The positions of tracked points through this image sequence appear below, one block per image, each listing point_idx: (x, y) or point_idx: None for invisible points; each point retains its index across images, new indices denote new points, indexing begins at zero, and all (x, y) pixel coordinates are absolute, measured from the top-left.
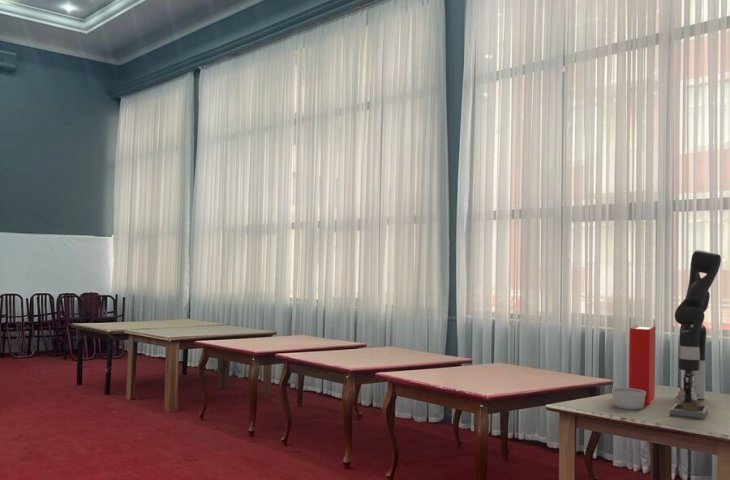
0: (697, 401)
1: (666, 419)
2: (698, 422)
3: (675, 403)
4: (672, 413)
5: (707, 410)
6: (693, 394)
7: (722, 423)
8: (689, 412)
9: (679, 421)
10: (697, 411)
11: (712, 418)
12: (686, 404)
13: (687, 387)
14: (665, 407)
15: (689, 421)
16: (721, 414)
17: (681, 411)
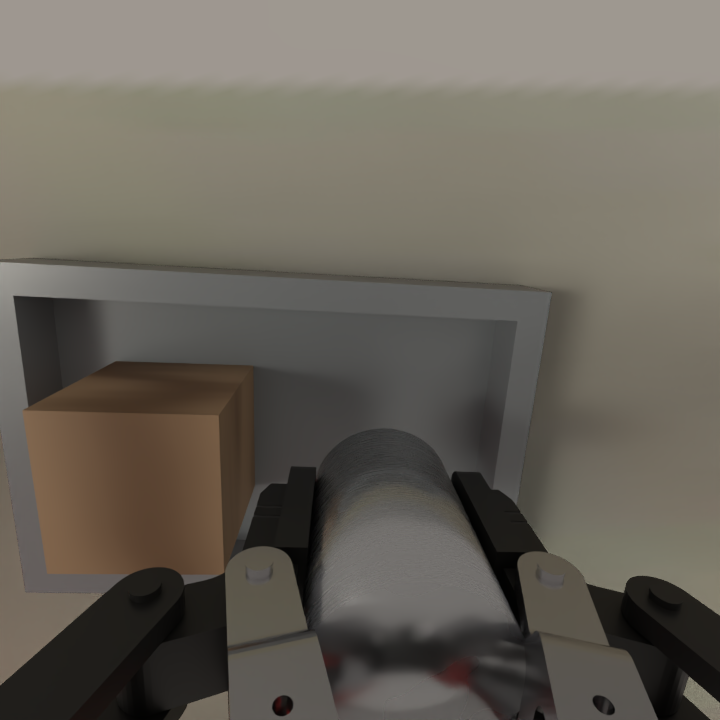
0: (111, 399)
1: (668, 558)
2: (685, 324)
3: (90, 591)
4: None
5: (91, 263)
6: (445, 505)
7: (628, 98)
8: (523, 429)
9: (711, 468)
10: (152, 362)
11: (385, 204)
12: (239, 496)
13: (467, 700)
14: (64, 625)
15: (672, 397)
16: (37, 107)
17: (514, 499)
